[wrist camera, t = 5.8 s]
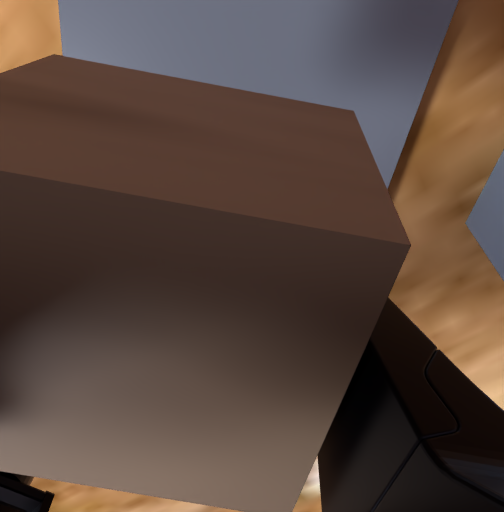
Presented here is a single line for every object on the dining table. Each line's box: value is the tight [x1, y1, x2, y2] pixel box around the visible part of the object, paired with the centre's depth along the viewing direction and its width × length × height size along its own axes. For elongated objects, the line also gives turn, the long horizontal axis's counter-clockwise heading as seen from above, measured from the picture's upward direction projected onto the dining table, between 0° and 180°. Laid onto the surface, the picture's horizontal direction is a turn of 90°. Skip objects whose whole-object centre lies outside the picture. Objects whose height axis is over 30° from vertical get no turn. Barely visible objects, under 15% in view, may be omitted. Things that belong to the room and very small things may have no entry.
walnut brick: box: [0, 54, 411, 512], centre depth 8 cm, size 6×6×5 cm
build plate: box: [58, 0, 458, 189], centre depth 18 cm, size 14×14×1 cm
